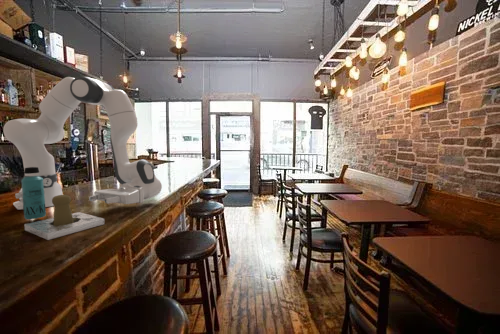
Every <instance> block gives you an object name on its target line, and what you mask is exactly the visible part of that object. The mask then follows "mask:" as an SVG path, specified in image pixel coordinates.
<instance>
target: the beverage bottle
mask: <svg viewBox="0 0 500 334" xmlns="http://www.w3.org/2000/svg"><path fill="white" fill-rule="evenodd" d="M23 173H24V175H25V174H31V173H39V169H38V167H28V168H25V172H24V171H23ZM20 181H21V188H22V193H23V195H22V196H23V200H22V202H23V206H24V207H23V209H22V211H23V217H24V219H25V220H34V219H35V220H37V219H40V218H44V217H45V216H47V215H46V214H47V207H45V196H44V192H45V191H44V185H43V178H42V177H40V176H28V177H24V176H23V178H22V179H21V180H20Z"/></svg>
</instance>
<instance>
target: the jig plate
mask: <svg viewBox="0 0 500 334" xmlns="http://www.w3.org/2000/svg"><path fill="white" fill-rule="evenodd" d="M72 217H73V221H74V223H71V224H67V225H58V226H53V223H54V217H52V218H47V219H43V220H37V221H35V222H30V223H29V222H27V223H24V231H25V232H28V233H30V234H33V235H36V236H38V237H40V238H43V239H45V240H47V241H51V240H53V239H57V238H60V237H64V236H66V235H67V236H68V235H71V234H74V233H75V234H76V233H77V232H78V233H79V232H82V231H85V230H89V229H92V228H96V227H99V226H103V225H105V218H103V217H99V216H96V215H91V214H88V213H83V212H80V211H78V212H74V213H72Z"/></svg>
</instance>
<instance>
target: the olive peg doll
mask: <svg viewBox="0 0 500 334" xmlns="http://www.w3.org/2000/svg"><path fill="white" fill-rule="evenodd" d="M71 201H72V198H71V196H70V195H68V194H63V195H58V196H55V197H53V199H52V203H53V205H54V211H53V213H54V214H53V218H54V223H53V226H58V225H67V224H71V223H74V221H73V217H72V214H73V213H72V210H71V206H70V204H71Z"/></svg>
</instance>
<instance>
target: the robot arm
mask: <svg viewBox="0 0 500 334" xmlns="http://www.w3.org/2000/svg"><path fill="white" fill-rule="evenodd" d="M81 103H84V104H89V105H93V106H102V107H103V108H104V109H105V111H106V114H107V118H108V120H109V127H110V134H109V137H110V138H109V140H110V146H111V151H112V155H113V160H114V166H115V167H114V168H115V173H114V175H115V179H116V181H117V182H118V183H119V184H120V186H119V188H106V189H99V190H96V191H94V192H93V195H90V196H89V197H88V201H90V202H95V201H102V202H104V203H105V204H113V203H114V204H115V203H116V204H117V203H118V204H124V205H130V204H141V203H144V201H145V200H150V199H151V198H154V197H157V196H158V195H159V194H160V193H161V191H162V188H163V185H162V182H161V180H159V179H158V178H157V176H156V175H155V171H154V166H153V165H152V163H151V162H150V161H149V160H147V159H139V160H135V161H133V162H130V159H129V154H128V150H127V149H128V148H127V145H128V144H127V143H128V141H129V139H130V138H131V136H132V135H133V134H134V133H135V132H136V130H137V128H138V118H137V115H136V112H135V109H134V106H133V104H132V102H131V100H130V98H129V96H128V94H127V92H125V91H124V90H122V89H115V88H114V87H113V86H112V85H111V84H110V83H108V82H105V81H104V80H100V79H98V78H93V77H92V78H91V77H90V76H77V77H71V76H66V77H64V78H63V79H61V80H60V81H58V83H57V84H56V85H54V87H52V89H50V91H49V92H48V93H47V94H46V96H45V97H44V98H42V100H41V102H40V103H39V105H38V107H39V108H38V109H39V111H40V112H41V113H40V115H39V117H38V118H36V119H35V118H34V119H33V118H16V119H11V120H8V121H7V122H5V123H4V126H3V129H2V131H3V132H2V133H3V135H4V137H5V138H6V140H7V141H9V143H10V142H11V143H12V144H13V145H14V146H15V147H16V149H17V150H18V152H19V154H20V156H21V159H22V164H23V170H24V171H23V173H24V172H25V168H28V167H38V169H39V173H31V174H25V173H24V175H23V178H24V177H28V176H40V177H42V178H43V185H44V191H45V192H44V196H45V208H48V207H53V206H54V205H53V203H52V199H53V197H55V196H58V195H64V194H63V187H62V185H61V184H60V183H58V175H57V172H56V165H55V157H54V156H53V155H52V154H51V153H50V152H48V150H47V148H46V146H45V145H50V144H55V143H56V144H57V143H59V142H61V141H62V140H63V139H64V137H65V130H64V125H65V123H66V121H67V120H68V118H69V117H70V116H71V115H72V114H73V112H74V111H75V109H77V107H78V106H80V104H81ZM22 195H23V193H22V187H21V188H20V190H19V191H18V193H15V199H19V200H17V201H15V202H13V203H12V204H13V206H14V207H15V209H16V210H23V207H24V206H23V202H22V200H23V196H22ZM54 207H55V206H54Z"/></svg>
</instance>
